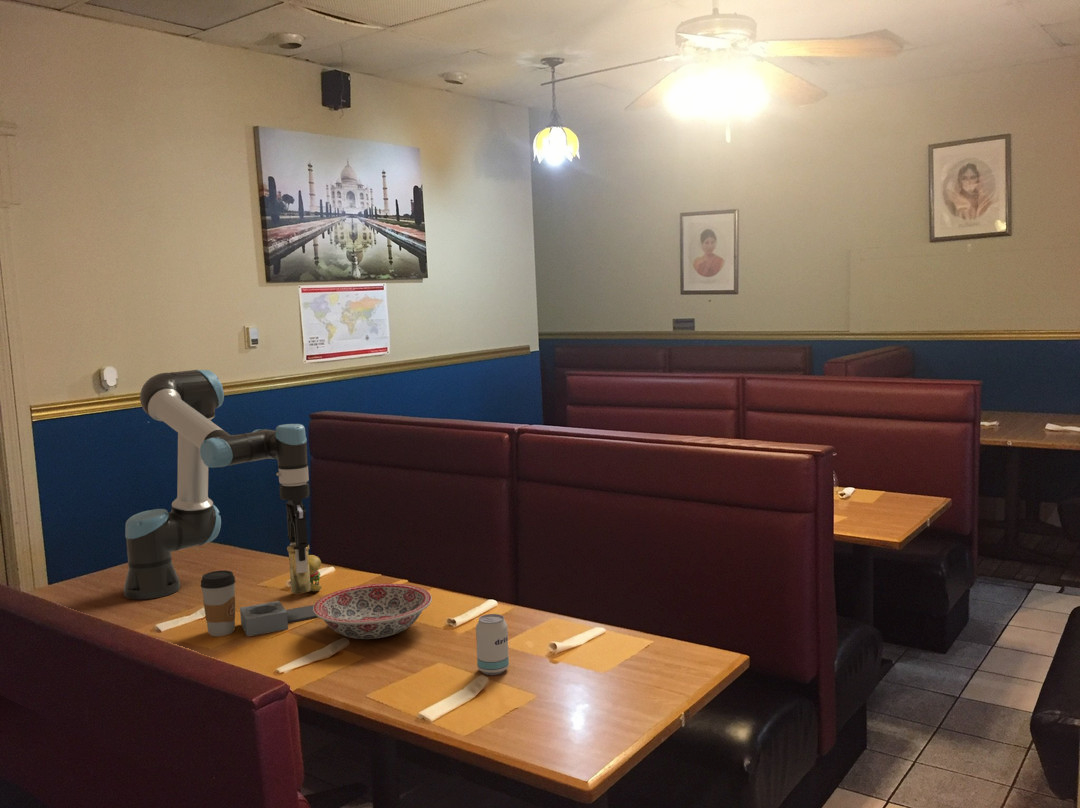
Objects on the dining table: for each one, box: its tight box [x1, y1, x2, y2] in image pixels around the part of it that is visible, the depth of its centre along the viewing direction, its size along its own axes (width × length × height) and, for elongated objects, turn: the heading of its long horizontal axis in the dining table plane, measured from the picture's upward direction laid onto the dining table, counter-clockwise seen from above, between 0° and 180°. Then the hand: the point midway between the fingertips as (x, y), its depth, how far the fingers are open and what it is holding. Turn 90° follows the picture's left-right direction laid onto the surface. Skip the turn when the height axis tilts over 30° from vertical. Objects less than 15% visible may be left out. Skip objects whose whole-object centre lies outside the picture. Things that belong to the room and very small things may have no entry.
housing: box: [239, 600, 289, 637], centre depth 228 cm, size 10×10×4 cm
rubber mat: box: [285, 604, 318, 624], centre depth 236 cm, size 9×9×1 cm
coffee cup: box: [200, 569, 237, 637], centre depth 225 cm, size 8×8×15 cm
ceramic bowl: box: [313, 583, 433, 640], centre depth 222 cm, size 29×29×8 cm
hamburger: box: [308, 554, 322, 592], centre depth 255 cm, size 8×7×12 cm
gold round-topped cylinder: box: [286, 544, 311, 594], centre depth 235 cm, size 6×6×12 cm
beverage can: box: [475, 613, 510, 676], centre depth 196 cm, size 7×7×12 cm
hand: (299, 569), depth 235 cm, fingers closed on gold round-topped cylinder, 6 cm apart
